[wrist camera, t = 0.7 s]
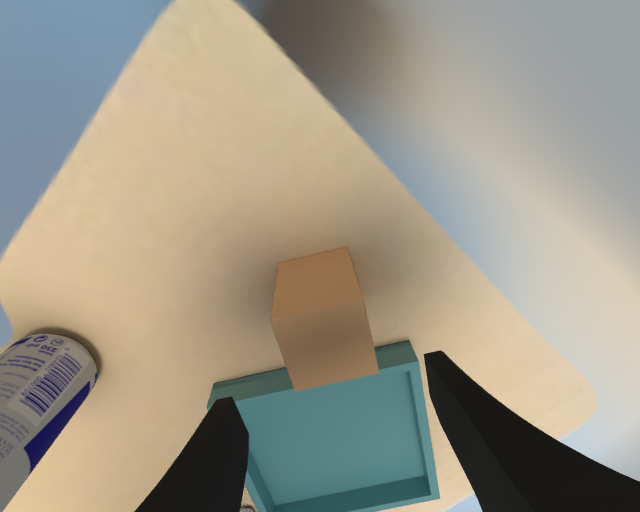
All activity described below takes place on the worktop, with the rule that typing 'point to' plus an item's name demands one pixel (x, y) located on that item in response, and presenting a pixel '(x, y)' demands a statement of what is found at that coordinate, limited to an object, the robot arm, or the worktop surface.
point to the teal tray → (337, 439)
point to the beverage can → (38, 401)
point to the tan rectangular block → (322, 320)
